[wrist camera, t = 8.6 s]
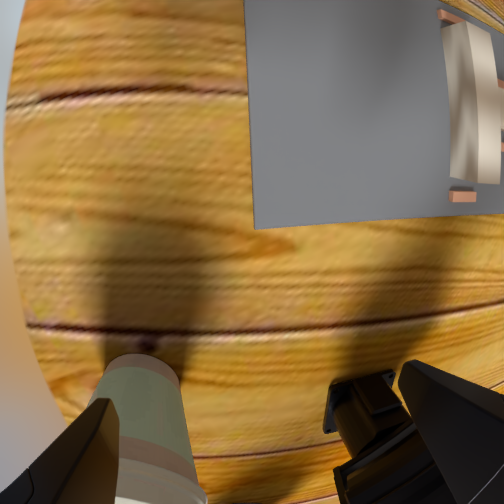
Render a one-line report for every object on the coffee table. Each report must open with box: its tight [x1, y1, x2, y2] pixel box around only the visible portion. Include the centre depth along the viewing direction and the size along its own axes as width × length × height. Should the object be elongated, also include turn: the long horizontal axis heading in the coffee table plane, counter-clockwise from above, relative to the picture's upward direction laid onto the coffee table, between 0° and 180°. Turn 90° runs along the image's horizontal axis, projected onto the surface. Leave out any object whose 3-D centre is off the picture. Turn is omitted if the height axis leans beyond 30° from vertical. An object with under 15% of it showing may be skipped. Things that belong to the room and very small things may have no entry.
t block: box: [440, 21, 504, 184], centre depth 17 cm, size 12×11×3 cm
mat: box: [244, 0, 504, 230], centre depth 18 cm, size 18×28×1 cm, turn 93°
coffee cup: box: [87, 354, 208, 504], centre depth 16 cm, size 8×8×12 cm
